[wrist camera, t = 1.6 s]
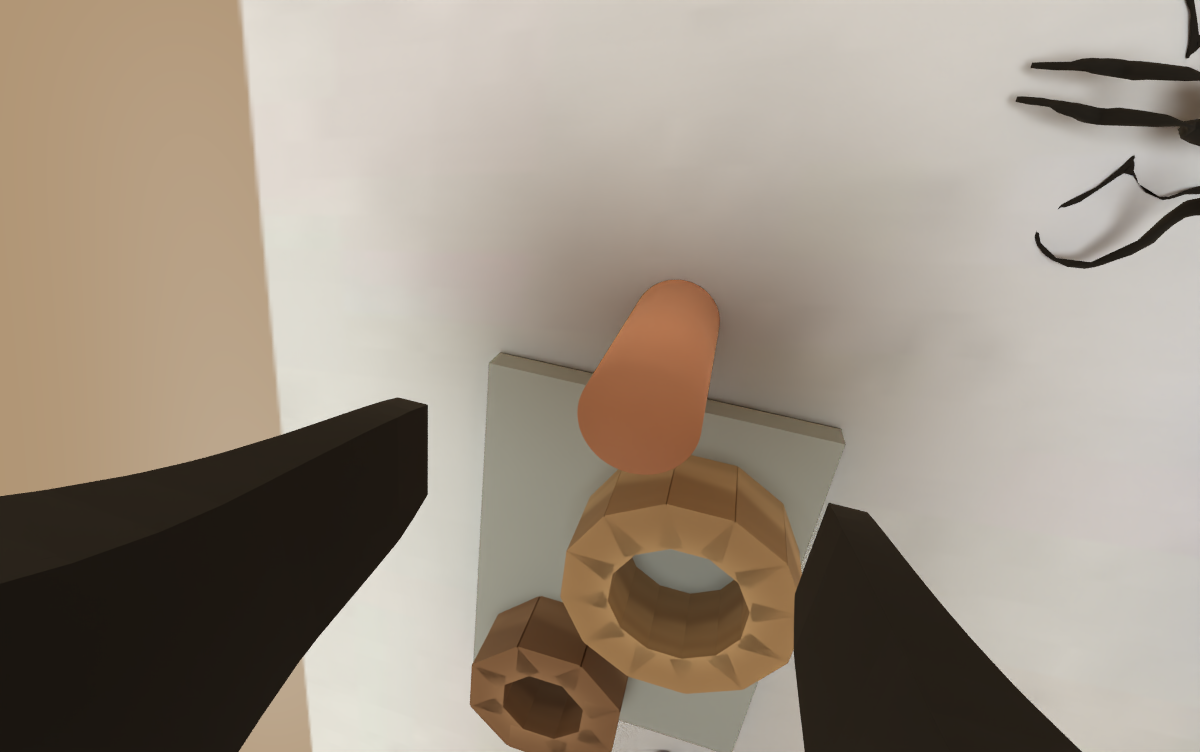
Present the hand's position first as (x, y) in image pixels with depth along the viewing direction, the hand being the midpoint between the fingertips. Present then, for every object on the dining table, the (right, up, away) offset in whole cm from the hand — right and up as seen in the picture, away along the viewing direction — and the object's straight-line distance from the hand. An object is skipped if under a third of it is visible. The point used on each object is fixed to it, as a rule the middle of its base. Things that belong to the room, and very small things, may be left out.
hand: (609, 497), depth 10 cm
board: (+1, -5, +13) cm, 14 cm away
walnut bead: (-2, -10, +15) cm, 18 cm away
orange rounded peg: (+2, +4, +9) cm, 10 cm away
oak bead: (+3, -4, +11) cm, 12 cm away
